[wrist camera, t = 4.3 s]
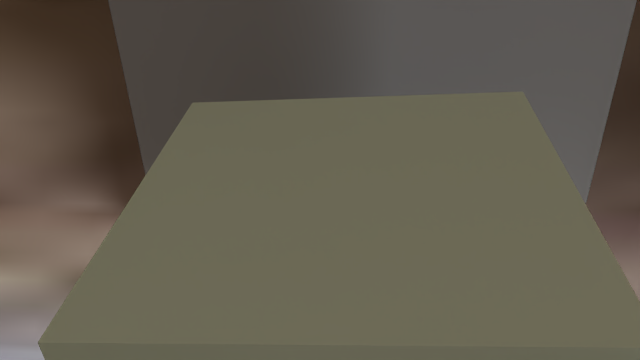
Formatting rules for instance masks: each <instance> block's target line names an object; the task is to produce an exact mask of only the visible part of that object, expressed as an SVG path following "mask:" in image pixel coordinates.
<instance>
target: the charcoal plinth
mask: <svg viewBox="0 0 640 360" xmlns="http://www.w3.org/2000/svg"><path fill="white" fill-rule="evenodd" d="M108 2H109V7H110V11H111V16H112V21H113V25H114V30H115V35H116V39H117V44H118V49H119V54H120V58H121V63H122V68H123V72H124V77H125V82H126V86H127V91H128V96H129V100H130V105H131V110H132V114H133V119H134V124H135V129H136V133H137V138H138V143H139V147H140V152H141V157H142V161H143V166H144V171H145V175H146V174H147V172H148V171H149V169H150V168H151V166H152V165H153V163H154V162H155V160H156V158H157V157H158V155H159V154H160V152H161V151H162V149H163V148H164V146H165V144H166V143H167V141H168V140H169V138H170V137H171V135H172V134H173V132H174V131H175V129H176V127H177V126H178V124H179V123H180V121H181V120H182V118H183V117H184V115H185V113H186V112H187V110H188V109H189V107H190V106H191V104H192V103H195V102H225V101H255V100H285V99H315V98H345V97H375V96H404V95H434V94H464V93H494V92H523V93H524V94H525V96H526V98H527V100H528V102H529V103H530V105H531V107H532V109H533V111H534V112H535V114H536V116H537V118H538V120H539V121H540V123H541V125H542V127H543V129H544V130H545V132H546V134H547V136H548V138H549V139H550V141H551V143H552V145H553V147H554V148H555V150H556V152H557V154H558V156H559V157H560V159H561V161H562V163H563V165H564V166H565V168H566V170H567V172H568V174H569V175H570V177H571V179H572V181H573V183H574V184H575V186H576V188H577V190H578V192H579V193H580V195H581V197H582V199H583V201H584V202H585V204H586V201H587V197H588V193H589V189H590V185H591V181H592V177H593V173H594V169H595V165H596V161H597V157H598V153H599V149H600V145H601V141H602V137H603V133H604V129H605V125H606V122H607V118H608V114H609V110H610V106H611V102H612V98H613V94H614V90H615V86H616V82H617V78H618V74H619V70H620V66H621V62H622V58H623V54H624V50H625V46H626V42H627V38H628V34H629V30H630V26H631V22H632V18H633V14H634V10H635V6H636V2H637V0H108Z"/></svg>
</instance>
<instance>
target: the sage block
mask: <svg viewBox="0 0 640 360" xmlns="http://www.w3.org/2000/svg"><path fill="white" fill-rule="evenodd" d="M38 344H39V347H40V349H41V351H42V354H43V356H44V358H45V360H640V302H639V300H638V298H637V296H636V294H635V293H634V291H633V289H632V287H631V285H630V284H629V282H628V280H627V278H626V276H625V275H624V273H623V271H622V269H621V267H620V266H619V264H618V262H617V260H616V258H615V257H614V255H613V253H612V251H611V249H610V248H609V246H608V244H607V242H606V240H605V238H604V237H603V235H602V233H601V231H600V229H599V228H598V226H597V224H596V222H595V220H594V219H593V217H592V215H591V213H590V211H589V210H588V208H587V206H586V204H585V202H584V201H583V199H582V197H581V195H580V193H579V192H578V190H577V188H576V186H575V184H574V183H573V181H572V179H571V177H570V175H569V174H568V172H567V170H566V168H565V166H564V165H563V163H562V161H561V159H560V157H559V156H558V154H557V152H556V150H555V148H554V147H553V145H552V143H551V141H550V139H549V138H548V136H547V134H546V132H545V130H544V129H543V127H542V125H541V123H540V121H539V120H538V118H537V116H536V114H535V112H534V111H533V109H532V107H531V105H530V103H529V102H528V100H527V98H526V96H525V94H524V93H523V92H494V93H464V94H434V95H404V96H375V97H345V98H315V99H285V100H255V101H225V102H195V103H192V104H191V106H190V107H189V109H188V110H187V112H186V113H185V115H184V117H183V118H182V120H181V121H180V123H179V124H178V126H177V127H176V129H175V131H174V132H173V134H172V135H171V137H170V138H169V140H168V141H167V143H166V144H165V146H164V148H163V149H162V151H161V152H160V154H159V155H158V157H157V158H156V160H155V162H154V163H153V165H152V166H151V168H150V169H149V171H148V172H147V174H146V175H145V177H144V179H143V180H142V182H141V183H140V185H139V186H138V188H137V189H136V191H135V193H134V194H133V196H132V197H131V199H130V200H129V202H128V203H127V205H126V206H125V208H124V210H123V211H122V213H121V214H120V216H119V217H118V219H117V220H116V222H115V224H114V225H113V227H112V228H111V230H110V231H109V233H108V234H107V236H106V238H105V239H104V241H103V242H102V244H101V245H100V247H99V248H98V250H97V251H96V253H95V255H94V256H93V258H92V259H91V261H90V262H89V264H88V265H87V267H86V269H85V270H84V272H83V273H82V275H81V276H80V278H79V279H78V281H77V282H76V284H75V286H74V287H73V289H72V290H71V292H70V293H69V295H68V296H67V298H66V300H65V301H64V303H63V304H62V306H61V307H60V309H59V310H58V312H57V313H56V315H55V317H54V318H53V320H52V321H51V323H50V324H49V326H48V327H47V329H46V331H45V332H44V334H43V335H42V337H41V338H40V340H39V341H38Z"/></svg>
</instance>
